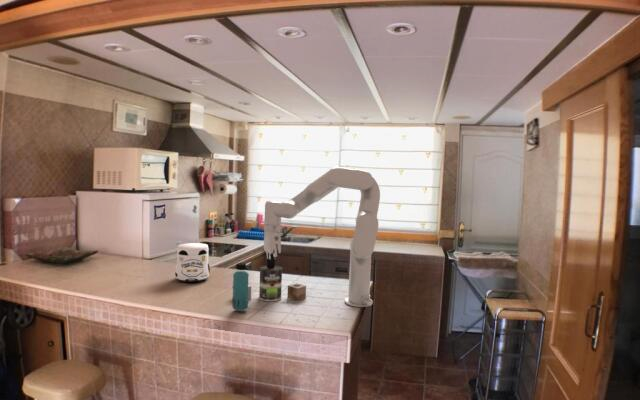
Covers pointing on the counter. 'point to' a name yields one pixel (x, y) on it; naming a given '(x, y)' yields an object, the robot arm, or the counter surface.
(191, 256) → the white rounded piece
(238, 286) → the beverage bottle
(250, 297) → the grey dotted block
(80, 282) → the counter surface
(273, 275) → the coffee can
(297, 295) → the walnut dotted block
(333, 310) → the counter surface
